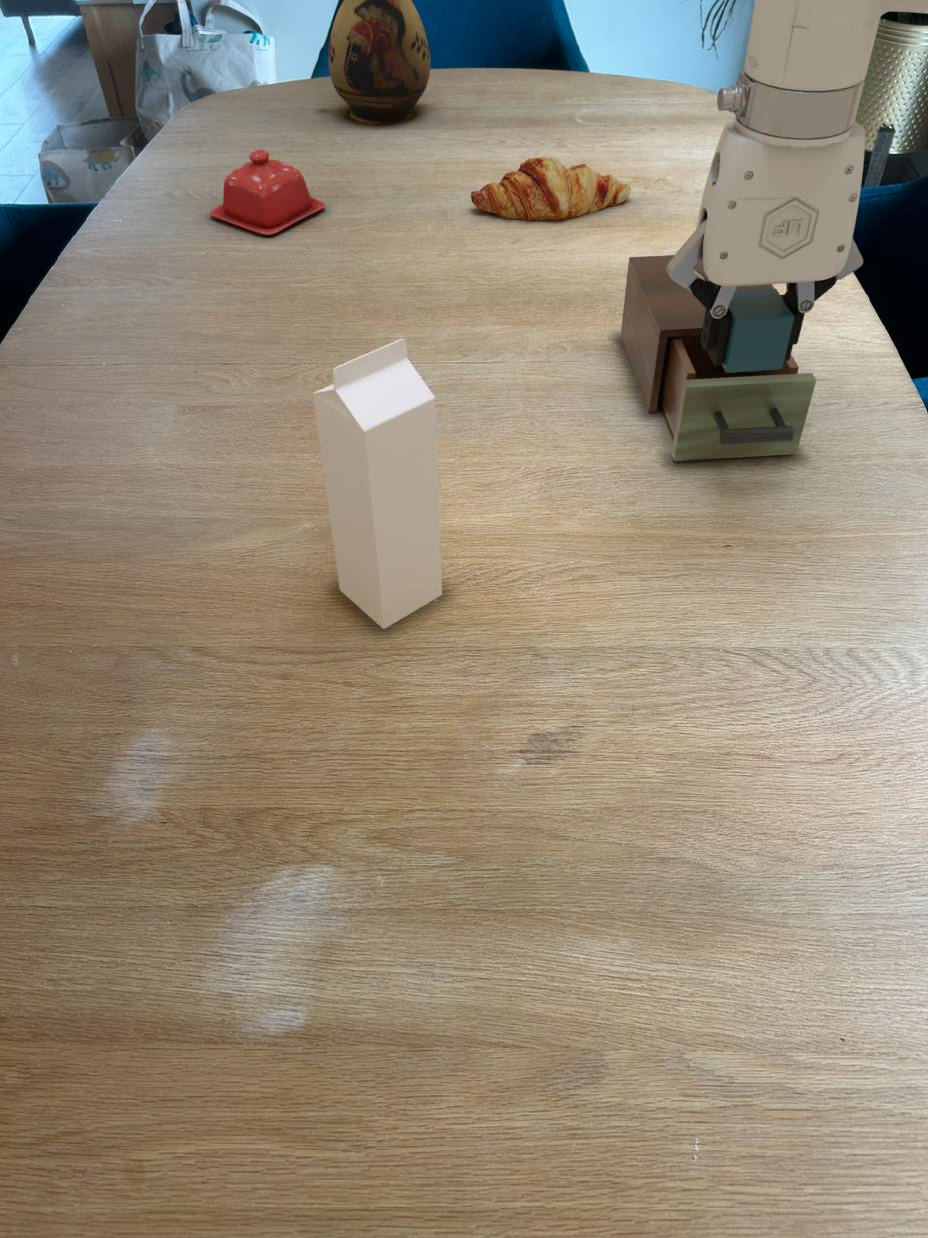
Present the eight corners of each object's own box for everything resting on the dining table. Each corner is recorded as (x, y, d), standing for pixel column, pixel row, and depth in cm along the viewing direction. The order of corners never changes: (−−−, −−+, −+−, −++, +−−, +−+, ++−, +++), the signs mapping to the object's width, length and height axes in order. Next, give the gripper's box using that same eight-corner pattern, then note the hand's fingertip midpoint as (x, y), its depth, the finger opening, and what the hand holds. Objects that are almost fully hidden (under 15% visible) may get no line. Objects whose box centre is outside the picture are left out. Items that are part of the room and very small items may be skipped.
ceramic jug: (445, 104, 160) (440, -126, 139) (413, 139, 150) (401, -104, 129) (347, 94, 164) (327, -131, 143) (309, 127, 154) (281, -110, 132)
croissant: (619, 220, 137) (617, 156, 135) (643, 213, 127) (642, 144, 125) (467, 230, 134) (462, 166, 132) (480, 224, 125) (475, 154, 122)
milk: (339, 594, 81) (303, 350, 65) (398, 561, 84) (377, 319, 68) (385, 635, 77) (358, 388, 62) (445, 599, 80) (433, 353, 65)
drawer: (811, 482, 89) (833, 407, 83) (684, 489, 88) (698, 414, 83) (754, 375, 101) (770, 303, 96) (643, 381, 101) (653, 309, 95)
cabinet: (774, 411, 98) (796, 322, 91) (647, 419, 98) (660, 329, 91) (734, 336, 108) (751, 250, 102) (619, 342, 108) (629, 256, 101)
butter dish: (269, 245, 125) (258, 176, 119) (206, 222, 130) (193, 154, 124) (331, 213, 132) (324, 146, 126) (269, 193, 137) (259, 127, 131)
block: (764, 339, 79) (776, 287, 76) (782, 369, 76) (794, 316, 73) (710, 343, 79) (719, 291, 76) (725, 373, 76) (736, 320, 73)
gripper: (683, 131, 62) (650, 388, 75) (948, 117, 63) (870, 372, 76) (656, 90, 67) (629, 336, 80) (901, 77, 68) (835, 323, 81)
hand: (746, 351), depth 78 cm, fingers closed on block, 4 cm apart
